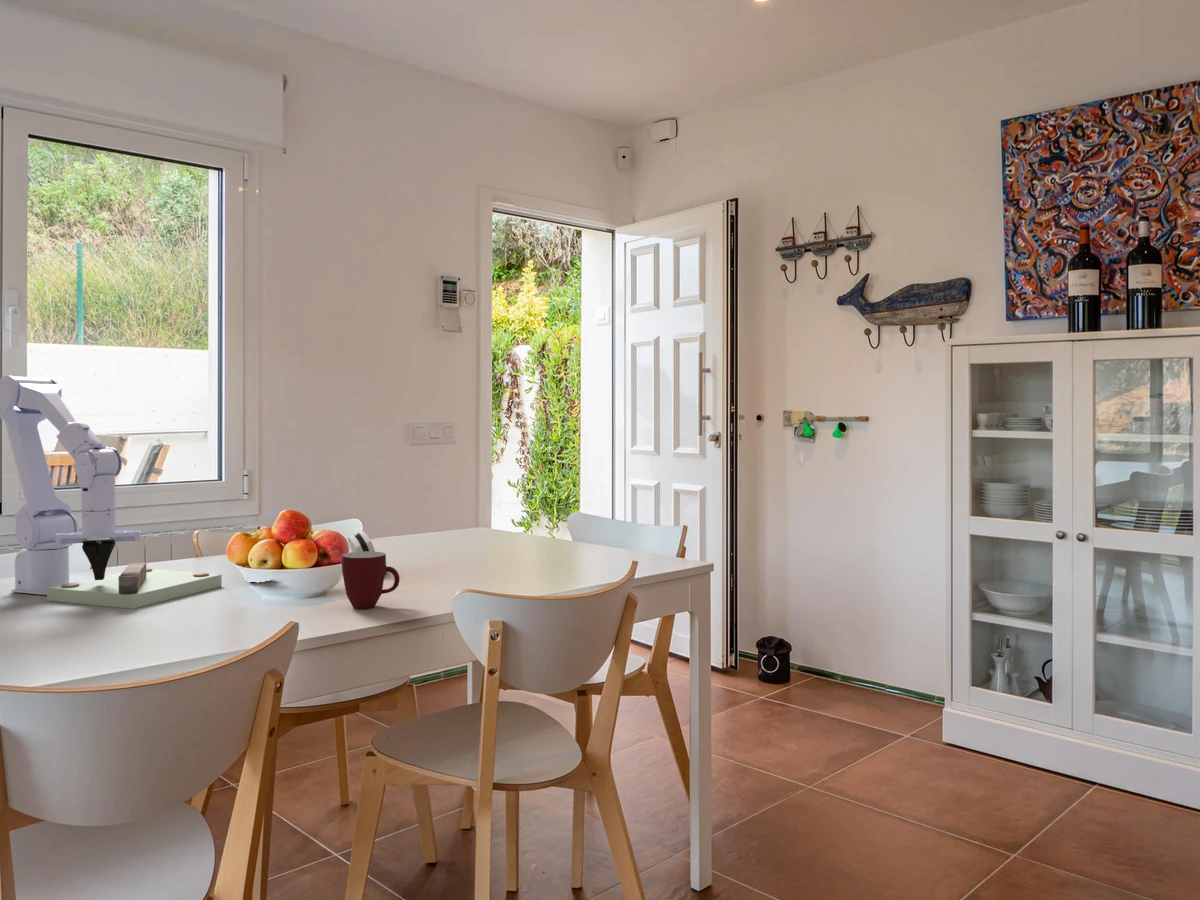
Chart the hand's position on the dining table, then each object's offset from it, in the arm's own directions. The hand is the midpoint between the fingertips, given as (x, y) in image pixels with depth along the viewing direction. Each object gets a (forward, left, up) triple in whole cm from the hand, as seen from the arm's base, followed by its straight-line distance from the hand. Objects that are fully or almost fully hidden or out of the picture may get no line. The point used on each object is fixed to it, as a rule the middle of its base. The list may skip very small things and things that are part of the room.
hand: (99, 579), depth 172 cm
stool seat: (+3, +6, -4) cm, 8 cm away
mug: (+54, +12, -4) cm, 55 cm away
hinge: (+30, +46, -4) cm, 55 cm away
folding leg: (+6, +2, -1) cm, 7 cm away
